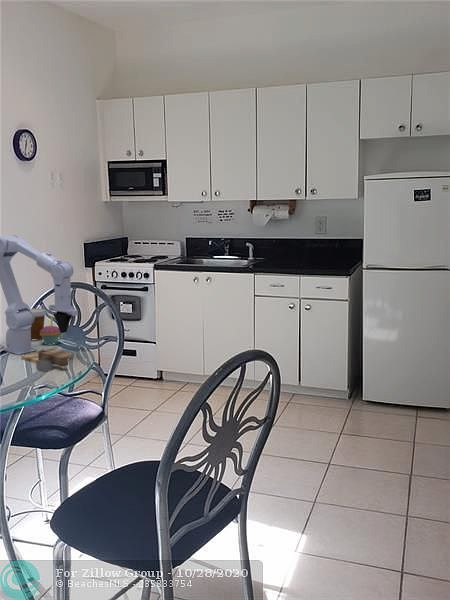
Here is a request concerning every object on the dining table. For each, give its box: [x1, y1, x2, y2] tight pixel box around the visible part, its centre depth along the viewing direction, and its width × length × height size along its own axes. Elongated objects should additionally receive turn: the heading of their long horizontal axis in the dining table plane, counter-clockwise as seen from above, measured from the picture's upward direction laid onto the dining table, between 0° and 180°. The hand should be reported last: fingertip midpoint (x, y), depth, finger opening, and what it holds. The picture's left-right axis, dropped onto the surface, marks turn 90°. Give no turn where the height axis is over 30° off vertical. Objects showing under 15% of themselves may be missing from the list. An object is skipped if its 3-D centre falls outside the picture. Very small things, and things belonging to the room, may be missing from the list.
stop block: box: [35, 359, 55, 373], centre depth 212 cm, size 5×4×3 cm
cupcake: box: [40, 314, 63, 345], centre depth 246 cm, size 9×8×12 cm
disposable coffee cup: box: [30, 307, 47, 341], centre depth 252 cm, size 10×10×12 cm
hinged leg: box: [37, 348, 69, 368], centre depth 215 cm, size 14×3×4 cm, turn 53°
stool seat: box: [21, 348, 75, 364], centre depth 226 cm, size 12×14×1 cm
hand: (63, 332), depth 226 cm, fingers closed
